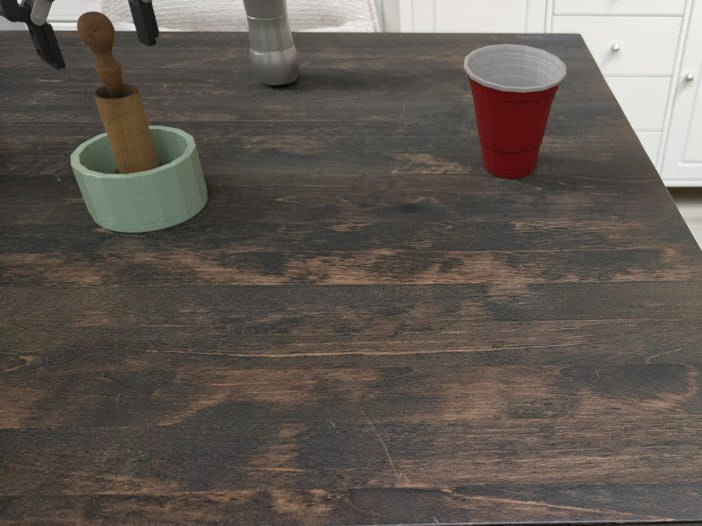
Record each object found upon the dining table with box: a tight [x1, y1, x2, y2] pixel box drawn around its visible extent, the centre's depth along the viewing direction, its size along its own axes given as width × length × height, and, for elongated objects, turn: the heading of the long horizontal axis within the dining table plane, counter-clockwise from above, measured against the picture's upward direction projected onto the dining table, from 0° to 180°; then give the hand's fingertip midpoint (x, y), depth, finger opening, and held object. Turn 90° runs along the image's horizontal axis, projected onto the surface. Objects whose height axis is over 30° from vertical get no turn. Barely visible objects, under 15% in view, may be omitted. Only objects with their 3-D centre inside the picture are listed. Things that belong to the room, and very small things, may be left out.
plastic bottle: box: [242, 0, 301, 86], centre depth 97 cm, size 6×7×20 cm
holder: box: [70, 125, 209, 234], centre depth 76 cm, size 12×12×6 cm
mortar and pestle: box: [76, 10, 165, 174], centre depth 71 cm, size 7×6×18 cm
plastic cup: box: [463, 43, 567, 179], centre depth 81 cm, size 11×11×12 cm
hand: (104, 54), depth 68 cm, fingers open, 8 cm apart
